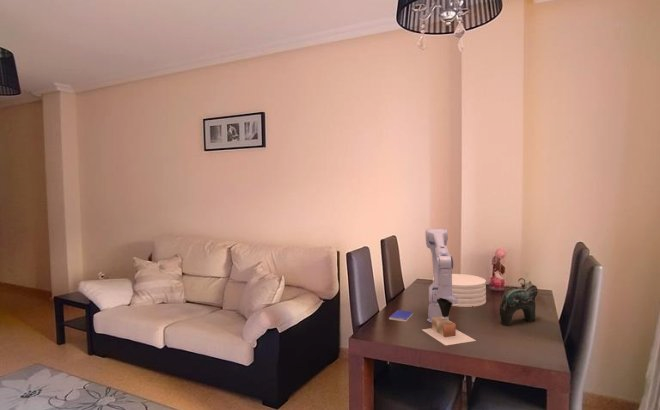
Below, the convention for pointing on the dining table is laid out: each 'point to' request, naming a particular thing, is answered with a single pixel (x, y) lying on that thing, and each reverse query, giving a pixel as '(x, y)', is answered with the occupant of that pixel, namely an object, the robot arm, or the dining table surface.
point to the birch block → (443, 326)
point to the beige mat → (449, 340)
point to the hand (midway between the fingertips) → (445, 316)
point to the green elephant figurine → (518, 302)
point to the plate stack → (468, 290)
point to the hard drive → (401, 315)
